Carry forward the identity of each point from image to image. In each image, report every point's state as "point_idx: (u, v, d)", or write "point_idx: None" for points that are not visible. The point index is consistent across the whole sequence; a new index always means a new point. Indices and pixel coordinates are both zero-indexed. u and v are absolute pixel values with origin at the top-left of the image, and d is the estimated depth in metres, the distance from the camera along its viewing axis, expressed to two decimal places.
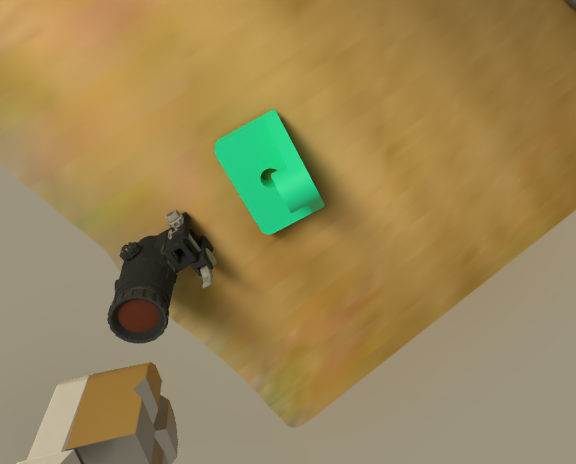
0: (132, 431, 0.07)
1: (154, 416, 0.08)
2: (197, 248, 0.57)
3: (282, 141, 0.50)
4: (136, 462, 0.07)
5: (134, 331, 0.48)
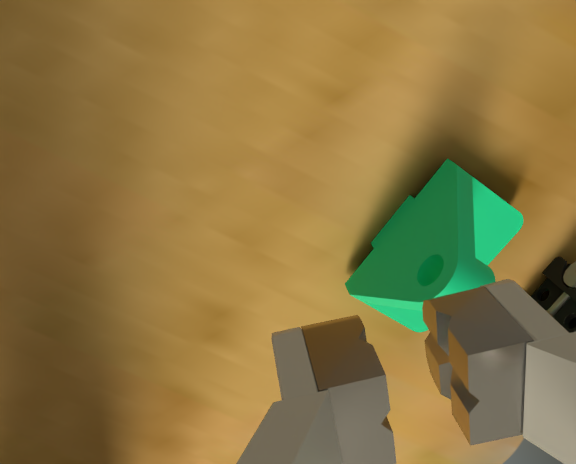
0: (380, 373, 0.07)
1: None
2: (567, 296, 0.40)
3: (388, 303, 0.35)
4: (378, 405, 0.07)
5: None
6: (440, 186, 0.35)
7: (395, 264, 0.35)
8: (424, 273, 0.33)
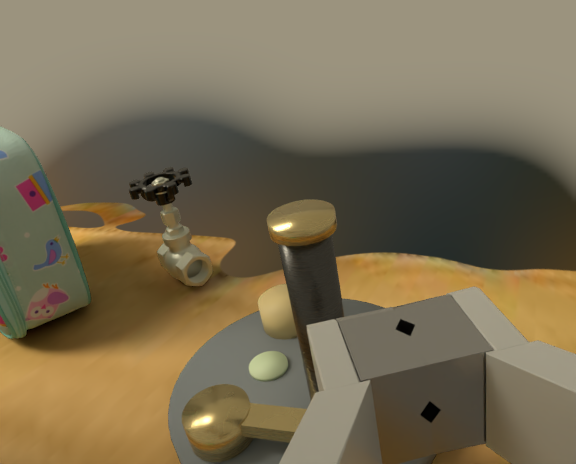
0: (422, 363, 0.07)
1: None
2: None
3: None
4: (418, 395, 0.07)
5: None
6: None
7: None
8: None
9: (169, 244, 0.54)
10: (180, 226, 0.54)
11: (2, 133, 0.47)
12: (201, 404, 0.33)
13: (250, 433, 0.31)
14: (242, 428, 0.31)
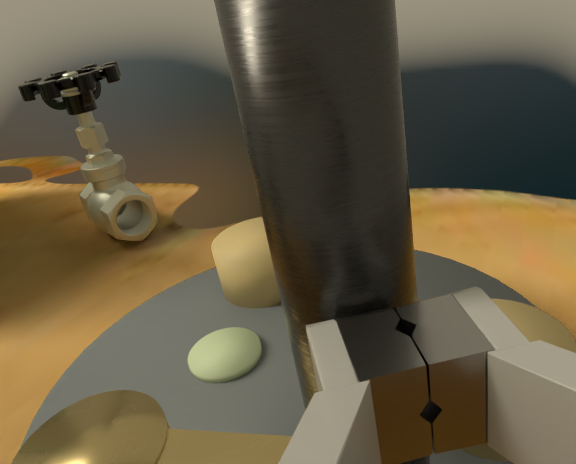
0: (421, 363, 0.07)
1: None
2: None
3: None
4: (417, 395, 0.07)
5: None
6: None
7: None
8: None
9: (91, 178, 0.36)
10: (107, 151, 0.36)
11: None
12: (60, 438, 0.15)
13: None
14: None
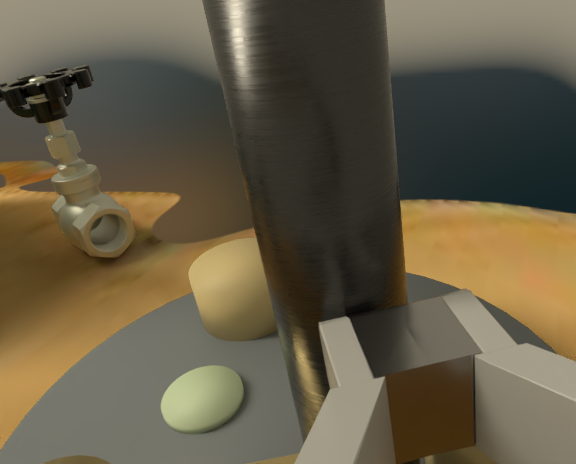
0: (436, 360, 0.07)
1: None
2: None
3: None
4: (432, 392, 0.07)
5: None
6: None
7: None
8: None
9: (62, 190, 0.33)
10: (80, 161, 0.34)
11: None
12: None
13: None
14: None
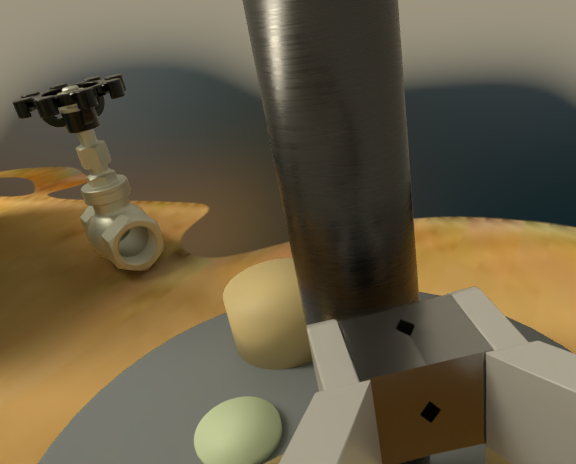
0: (422, 363, 0.07)
1: None
2: None
3: None
4: (418, 395, 0.07)
5: None
6: None
7: None
8: None
9: (91, 201, 0.33)
10: (110, 172, 0.33)
11: None
12: None
13: None
14: None
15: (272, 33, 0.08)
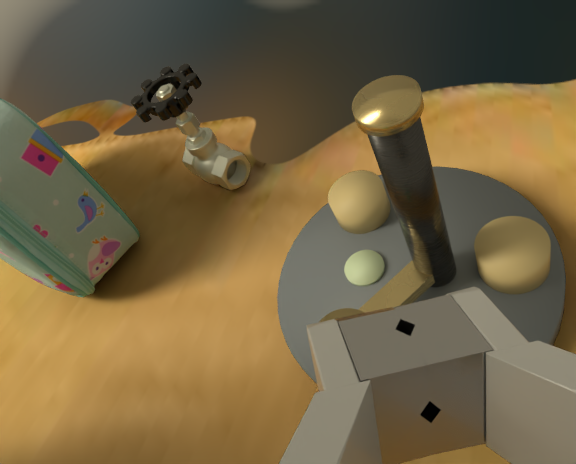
0: (422, 363, 0.07)
1: None
2: None
3: None
4: (418, 395, 0.07)
5: None
6: None
7: None
8: None
9: (198, 154, 0.49)
10: (201, 130, 0.49)
11: None
12: None
13: None
14: None
15: (391, 168, 0.26)
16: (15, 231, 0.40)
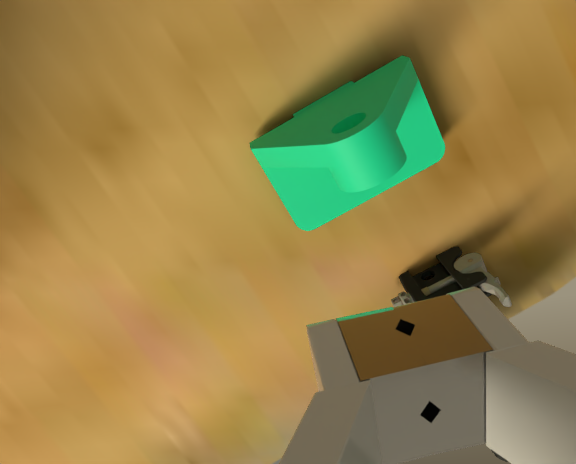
0: (422, 363, 0.07)
1: None
2: (451, 280, 0.41)
3: (289, 157, 0.32)
4: (418, 395, 0.07)
5: None
6: (386, 72, 0.33)
7: (311, 124, 0.32)
8: (339, 131, 0.30)
9: None
10: None
11: None
12: None
13: None
14: None
15: None
16: None
